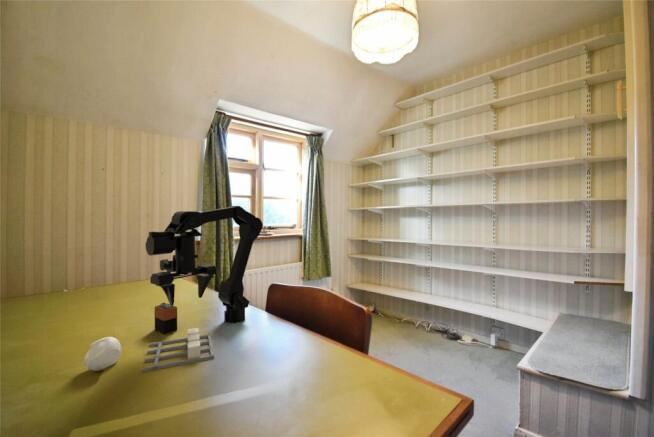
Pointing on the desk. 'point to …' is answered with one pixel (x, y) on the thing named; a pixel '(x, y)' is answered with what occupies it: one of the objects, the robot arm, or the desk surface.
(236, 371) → the desk surface
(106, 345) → the white rounded piece
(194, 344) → the cream block
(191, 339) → the beige squarish block
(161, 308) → the battery
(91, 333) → the desk surface
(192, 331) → the cream squarish block
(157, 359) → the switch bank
